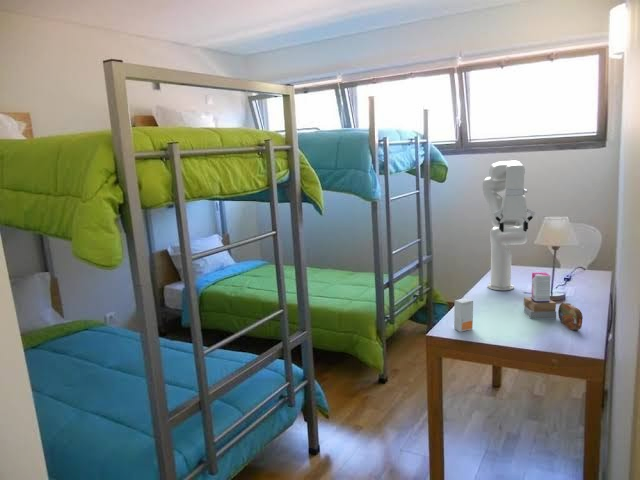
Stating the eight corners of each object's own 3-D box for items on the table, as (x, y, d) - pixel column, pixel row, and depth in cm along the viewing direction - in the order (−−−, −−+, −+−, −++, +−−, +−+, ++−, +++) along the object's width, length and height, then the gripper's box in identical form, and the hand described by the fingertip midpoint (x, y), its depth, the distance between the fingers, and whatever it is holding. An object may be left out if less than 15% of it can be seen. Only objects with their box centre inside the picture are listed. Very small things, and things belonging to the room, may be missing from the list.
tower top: (523, 305, 207) (524, 297, 207) (544, 304, 208) (544, 296, 207) (534, 312, 198) (534, 304, 198) (555, 310, 199) (555, 302, 198)
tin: (557, 319, 197) (558, 299, 196) (565, 319, 197) (566, 299, 196) (574, 333, 182) (576, 312, 181) (583, 333, 182) (584, 311, 181)
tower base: (524, 311, 210) (524, 304, 209) (548, 312, 208) (548, 304, 207) (530, 319, 200) (530, 311, 199) (555, 320, 198) (556, 311, 198)
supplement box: (550, 302, 198) (550, 275, 197) (535, 302, 199) (535, 275, 197) (545, 298, 204) (545, 271, 202) (531, 298, 205) (531, 272, 203)
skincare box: (461, 332, 188) (461, 302, 186) (453, 328, 192) (454, 300, 190) (473, 329, 191) (473, 300, 189) (466, 326, 195) (466, 297, 192)
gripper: (533, 191, 213) (531, 229, 216) (492, 192, 216) (491, 230, 219) (537, 193, 206) (536, 232, 209) (495, 194, 209) (494, 233, 212)
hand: (513, 231), depth 214 cm, fingers open, 9 cm apart
